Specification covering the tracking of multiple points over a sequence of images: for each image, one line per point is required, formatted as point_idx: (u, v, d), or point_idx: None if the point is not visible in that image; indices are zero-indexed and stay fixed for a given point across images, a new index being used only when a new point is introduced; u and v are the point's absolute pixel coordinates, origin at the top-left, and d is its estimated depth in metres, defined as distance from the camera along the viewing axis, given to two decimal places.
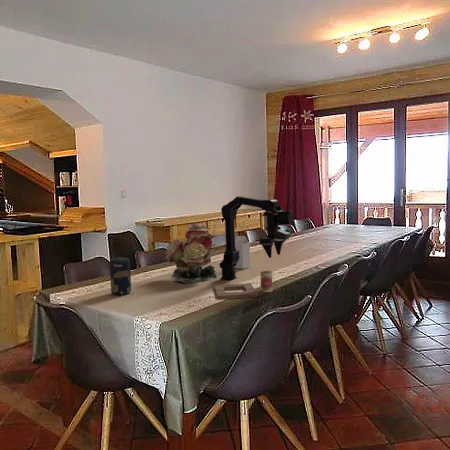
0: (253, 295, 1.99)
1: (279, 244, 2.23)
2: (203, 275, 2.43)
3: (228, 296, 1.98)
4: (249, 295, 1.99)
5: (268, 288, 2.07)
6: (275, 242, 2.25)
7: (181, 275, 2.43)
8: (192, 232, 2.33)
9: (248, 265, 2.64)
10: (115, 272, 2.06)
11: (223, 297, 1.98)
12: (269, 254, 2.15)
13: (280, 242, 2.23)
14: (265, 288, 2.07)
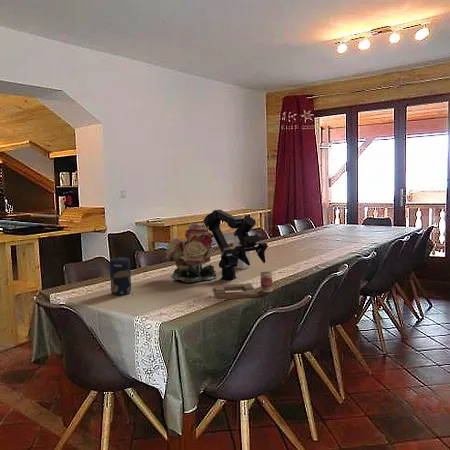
0: (253, 295, 1.99)
1: (261, 253, 2.19)
2: (203, 274, 2.42)
3: (228, 296, 1.98)
4: (249, 295, 1.99)
5: (268, 288, 2.07)
6: (258, 254, 2.21)
7: (181, 275, 2.43)
8: (192, 231, 2.34)
9: None
10: (115, 272, 2.06)
11: (223, 297, 1.98)
12: (246, 262, 2.12)
13: (261, 251, 2.19)
14: (265, 288, 2.07)
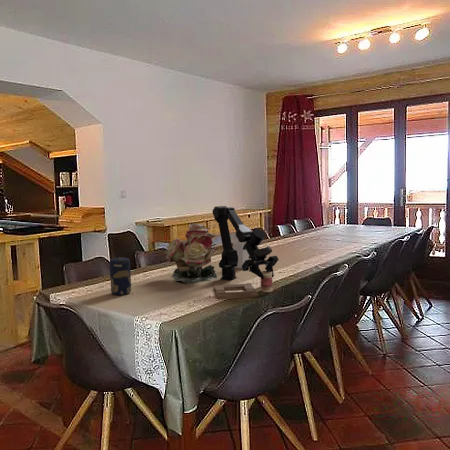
0: (253, 295, 1.99)
1: (269, 267, 2.11)
2: (203, 275, 2.43)
3: (228, 296, 1.98)
4: (249, 295, 1.99)
5: (268, 288, 2.07)
6: (266, 268, 2.14)
7: (181, 275, 2.44)
8: (192, 232, 2.34)
9: None
10: (115, 272, 2.06)
11: (223, 297, 1.98)
12: (260, 275, 2.06)
13: (269, 264, 2.12)
14: (265, 288, 2.07)
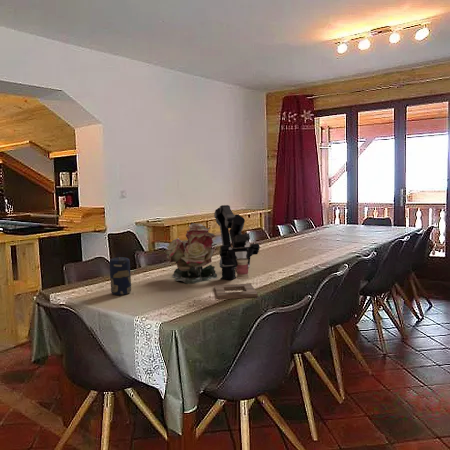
0: (253, 295, 1.99)
1: (247, 254, 2.08)
2: (203, 275, 2.43)
3: (228, 296, 1.98)
4: (249, 295, 1.99)
5: (242, 275, 2.04)
6: (246, 255, 2.11)
7: (182, 275, 2.44)
8: (193, 232, 2.34)
9: (248, 265, 2.64)
10: (115, 272, 2.06)
11: (223, 297, 1.98)
12: (234, 262, 2.05)
13: (247, 252, 2.09)
14: (239, 275, 2.05)
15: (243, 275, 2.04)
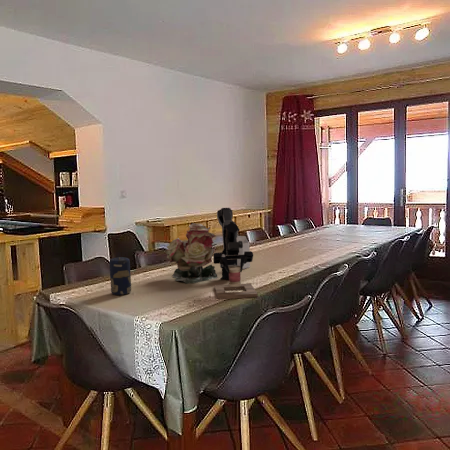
0: (253, 295, 1.99)
1: (240, 262, 2.09)
2: (204, 275, 2.44)
3: (228, 296, 1.98)
4: (249, 295, 1.99)
5: (233, 283, 2.05)
6: (240, 263, 2.11)
7: (182, 275, 2.44)
8: (193, 232, 2.34)
9: (248, 265, 2.64)
10: (115, 272, 2.06)
11: (223, 297, 1.98)
12: (226, 269, 2.06)
13: None
14: (231, 282, 2.06)
15: (235, 283, 2.05)
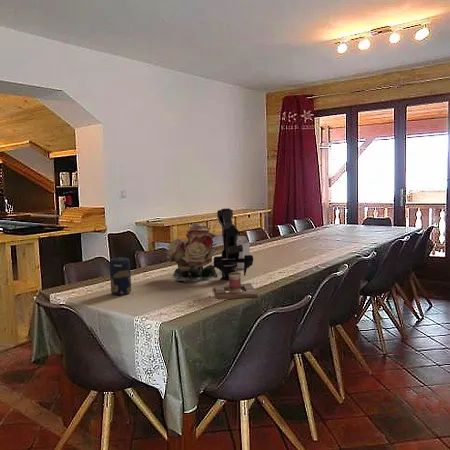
0: (253, 295, 1.99)
1: (244, 265, 2.09)
2: (204, 274, 2.44)
3: (228, 296, 1.98)
4: (249, 295, 1.99)
5: (234, 290, 2.06)
6: None
7: (182, 275, 2.45)
8: (193, 232, 2.34)
9: None
10: (115, 272, 2.06)
11: (223, 297, 1.98)
12: (223, 273, 2.06)
13: (244, 263, 2.09)
14: (231, 289, 2.06)
15: (235, 289, 2.06)
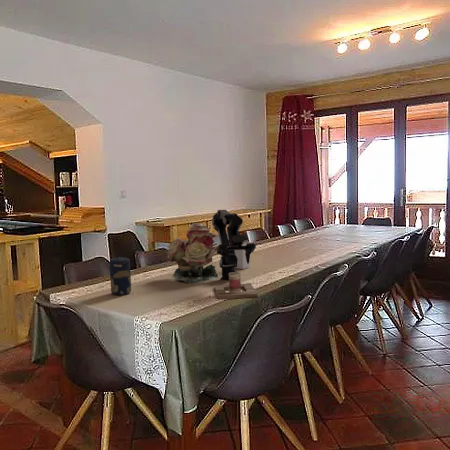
0: (253, 295, 1.99)
1: (247, 253, 2.17)
2: (204, 274, 2.44)
3: (228, 296, 1.98)
4: (249, 295, 1.99)
5: (234, 290, 2.06)
6: (245, 253, 2.20)
7: (182, 274, 2.45)
8: (194, 232, 2.35)
9: (248, 265, 2.64)
10: (115, 272, 2.06)
11: (223, 297, 1.98)
12: (228, 261, 2.13)
13: (247, 251, 2.17)
14: (231, 289, 2.06)
15: (235, 289, 2.06)
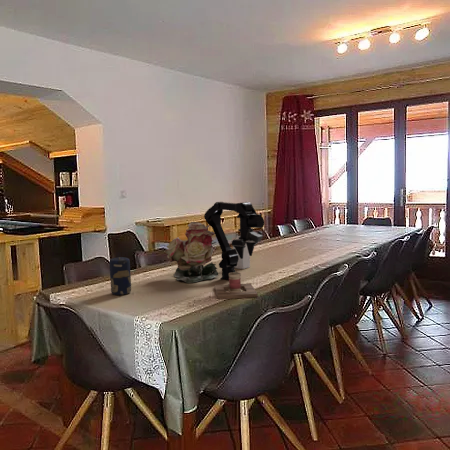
0: (253, 295, 1.99)
1: (251, 245, 2.29)
2: (205, 273, 2.44)
3: (228, 296, 1.98)
4: (249, 295, 1.99)
5: (234, 290, 2.06)
6: (247, 243, 2.31)
7: (183, 273, 2.45)
8: (192, 231, 2.34)
9: (248, 265, 2.64)
10: (115, 272, 2.06)
11: (223, 297, 1.98)
12: (241, 255, 2.22)
13: (252, 244, 2.29)
14: (231, 289, 2.06)
15: (235, 289, 2.06)
